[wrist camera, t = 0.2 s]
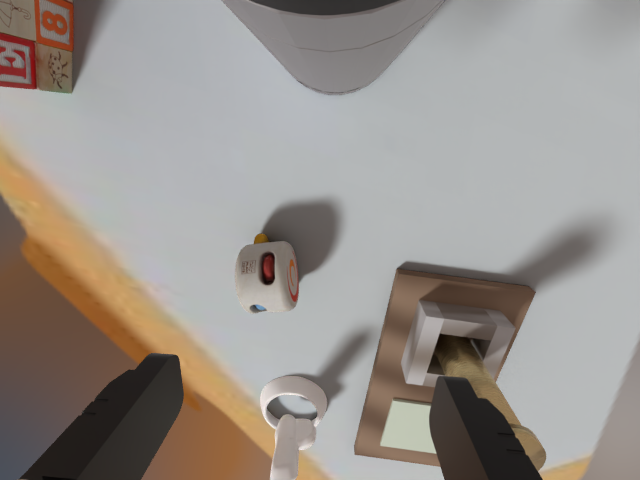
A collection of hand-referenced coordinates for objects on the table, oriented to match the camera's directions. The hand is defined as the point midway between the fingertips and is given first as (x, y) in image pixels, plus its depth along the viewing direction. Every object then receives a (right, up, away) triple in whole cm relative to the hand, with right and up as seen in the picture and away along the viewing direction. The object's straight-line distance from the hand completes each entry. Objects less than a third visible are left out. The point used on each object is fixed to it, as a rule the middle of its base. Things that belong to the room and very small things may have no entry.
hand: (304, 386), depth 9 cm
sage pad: (+11, -16, +23) cm, 30 cm away
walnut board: (+12, -10, +22) cm, 27 cm away
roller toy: (-4, +3, +19) cm, 19 cm away
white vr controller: (-3, -14, +25) cm, 28 cm away
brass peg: (+13, -5, +19) cm, 23 cm away
